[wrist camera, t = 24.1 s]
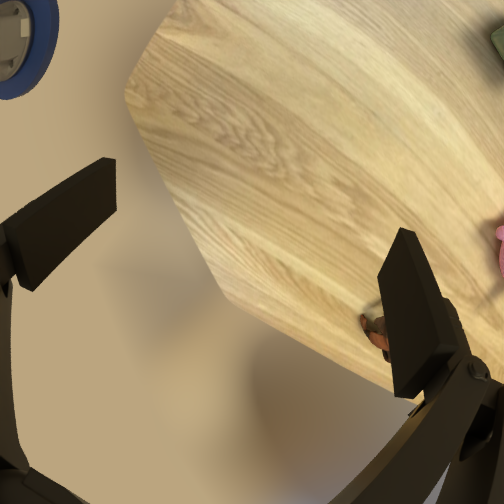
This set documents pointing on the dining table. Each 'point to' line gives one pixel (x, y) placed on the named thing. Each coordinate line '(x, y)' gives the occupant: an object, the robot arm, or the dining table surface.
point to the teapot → (503, 235)
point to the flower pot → (499, 40)
